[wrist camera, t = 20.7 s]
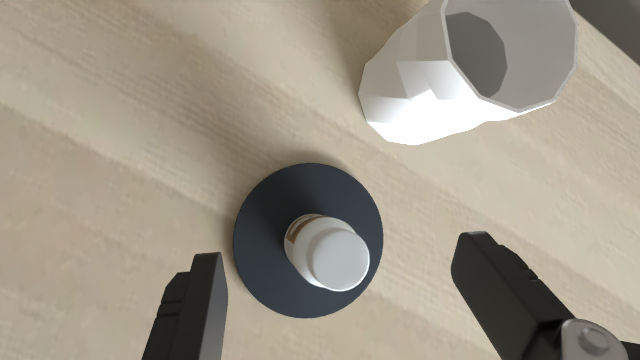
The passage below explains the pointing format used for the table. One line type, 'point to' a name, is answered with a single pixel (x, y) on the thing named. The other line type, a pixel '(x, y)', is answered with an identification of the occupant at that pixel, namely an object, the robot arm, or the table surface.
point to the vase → (468, 66)
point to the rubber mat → (273, 222)
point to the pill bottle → (326, 252)
